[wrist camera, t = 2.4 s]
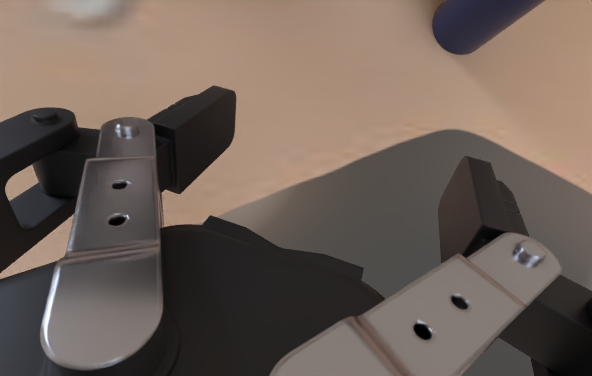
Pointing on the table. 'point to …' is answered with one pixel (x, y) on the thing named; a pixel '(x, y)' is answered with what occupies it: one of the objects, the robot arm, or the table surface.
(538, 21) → the table surface
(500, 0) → the water bottle
